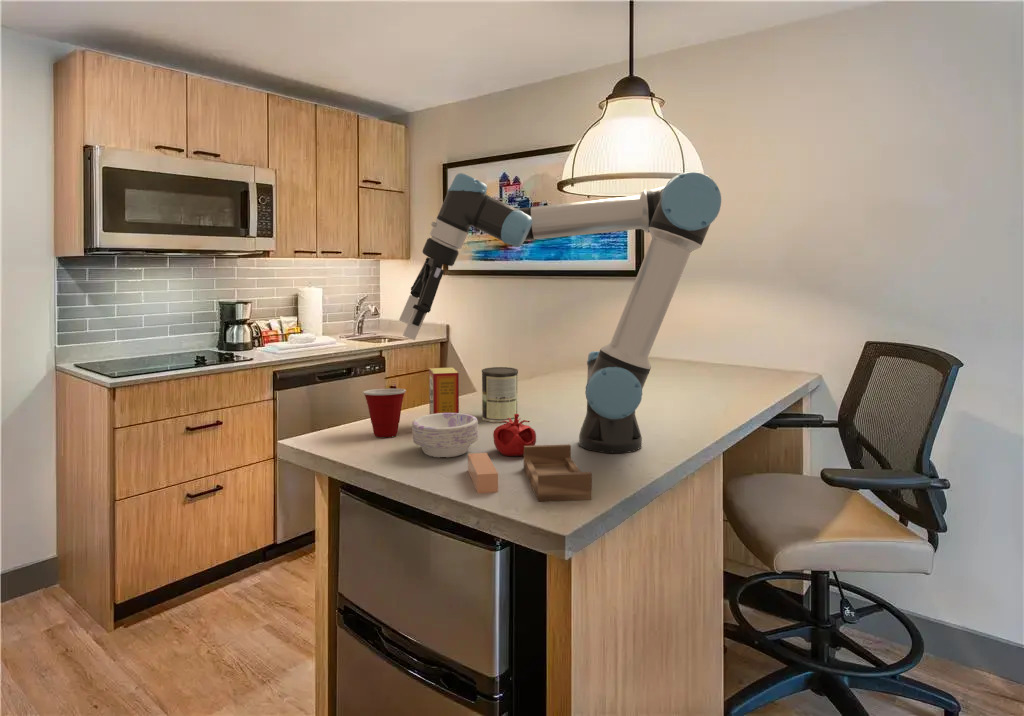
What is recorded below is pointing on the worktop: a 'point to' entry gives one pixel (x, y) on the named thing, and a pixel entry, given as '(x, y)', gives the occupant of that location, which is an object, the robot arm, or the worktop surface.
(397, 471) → the worktop surface
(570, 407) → the worktop surface
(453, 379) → the baking soda box
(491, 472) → the orange rectangular block
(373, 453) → the worktop surface
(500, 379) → the coffee can
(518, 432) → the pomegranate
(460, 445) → the paper bowls
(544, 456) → the wooden crate tray
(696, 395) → the worktop surface
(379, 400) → the plastic cup
